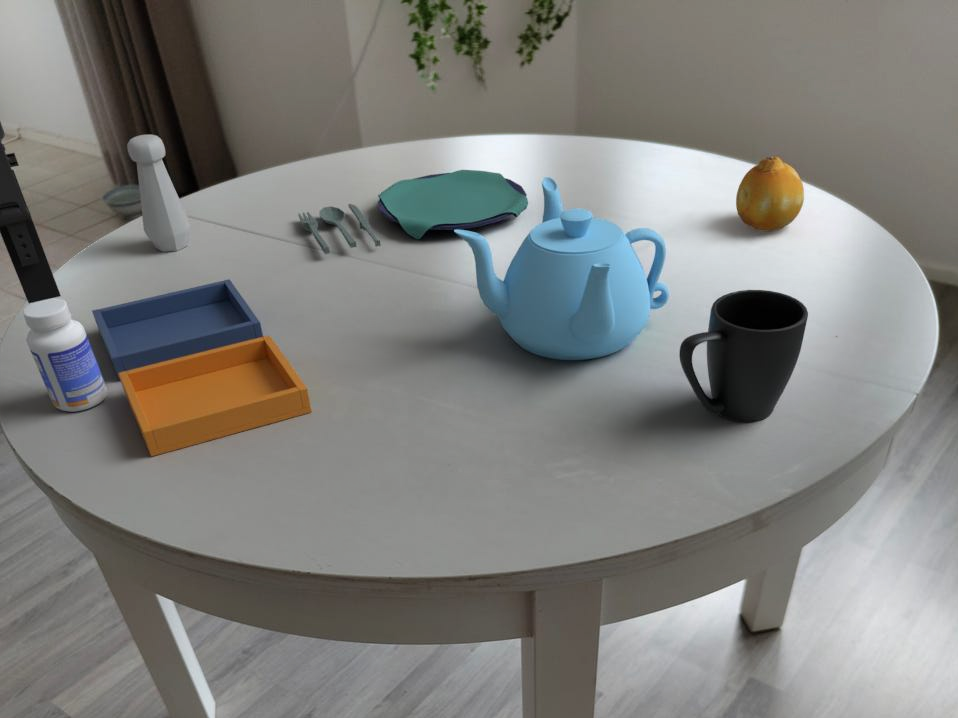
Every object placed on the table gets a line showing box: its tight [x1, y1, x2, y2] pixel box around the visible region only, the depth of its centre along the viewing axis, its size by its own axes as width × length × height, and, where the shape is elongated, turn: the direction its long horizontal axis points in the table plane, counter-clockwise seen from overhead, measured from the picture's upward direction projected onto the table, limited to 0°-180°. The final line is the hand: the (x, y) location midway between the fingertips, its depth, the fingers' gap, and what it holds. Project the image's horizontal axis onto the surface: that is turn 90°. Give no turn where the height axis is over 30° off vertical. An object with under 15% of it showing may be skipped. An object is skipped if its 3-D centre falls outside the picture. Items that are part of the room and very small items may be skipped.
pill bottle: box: [22, 297, 108, 413], centre depth 91 cm, size 5×5×10 cm
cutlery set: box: [297, 169, 529, 255], centre depth 124 cm, size 20×30×2 cm, turn 110°
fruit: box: [735, 156, 805, 232], centre depth 116 cm, size 8×8×8 cm
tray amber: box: [118, 334, 312, 457], centre depth 92 cm, size 16×13×3 cm
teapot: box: [453, 176, 670, 361], centre depth 96 cm, size 17×19×12 cm
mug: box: [678, 289, 809, 423], centre depth 84 cm, size 8×12×10 cm
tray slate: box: [91, 278, 264, 382], centre depth 102 cm, size 16×13×3 cm
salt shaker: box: [126, 134, 192, 253], centre depth 118 cm, size 6×6×13 cm
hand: (34, 271), depth 85 cm, fingers open, 13 cm apart
